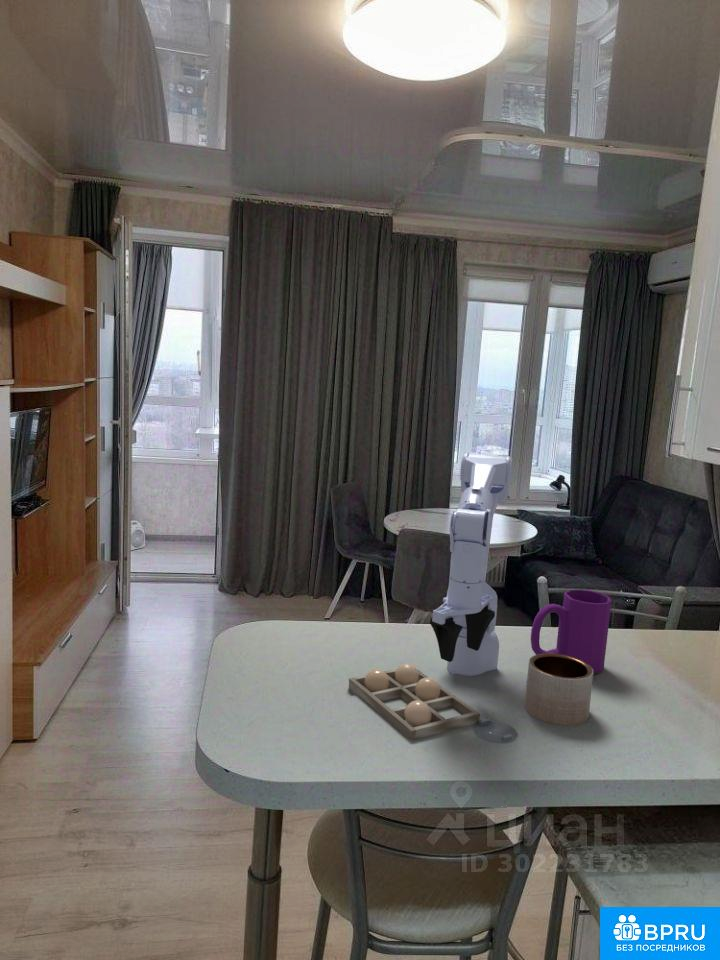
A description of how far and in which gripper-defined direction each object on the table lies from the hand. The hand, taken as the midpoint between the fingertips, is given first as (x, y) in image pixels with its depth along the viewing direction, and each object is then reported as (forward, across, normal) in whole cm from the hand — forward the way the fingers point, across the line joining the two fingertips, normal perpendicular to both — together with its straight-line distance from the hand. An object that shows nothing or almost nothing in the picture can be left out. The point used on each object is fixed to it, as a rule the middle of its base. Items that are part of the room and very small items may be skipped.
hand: (460, 654), depth 121 cm
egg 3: (+9, +12, +1) cm, 15 cm away
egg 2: (+9, +3, -9) cm, 13 cm away
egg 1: (+9, +9, -11) cm, 17 cm away
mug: (+10, -32, +3) cm, 34 cm away
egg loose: (+9, +4, -3) cm, 10 cm away
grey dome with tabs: (+10, +4, +11) cm, 15 cm away
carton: (+10, +7, -4) cm, 13 cm away
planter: (+10, -11, +13) cm, 20 cm away
